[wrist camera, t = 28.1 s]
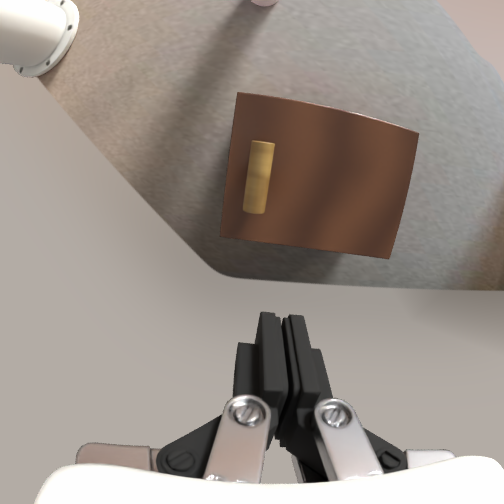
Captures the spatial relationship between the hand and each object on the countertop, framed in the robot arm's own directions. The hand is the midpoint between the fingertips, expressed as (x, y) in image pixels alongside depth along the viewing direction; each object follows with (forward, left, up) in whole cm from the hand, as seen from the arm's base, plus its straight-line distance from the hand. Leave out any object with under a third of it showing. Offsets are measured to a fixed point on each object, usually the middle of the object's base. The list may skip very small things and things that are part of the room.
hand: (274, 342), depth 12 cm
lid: (+5, +4, -16) cm, 17 cm away
